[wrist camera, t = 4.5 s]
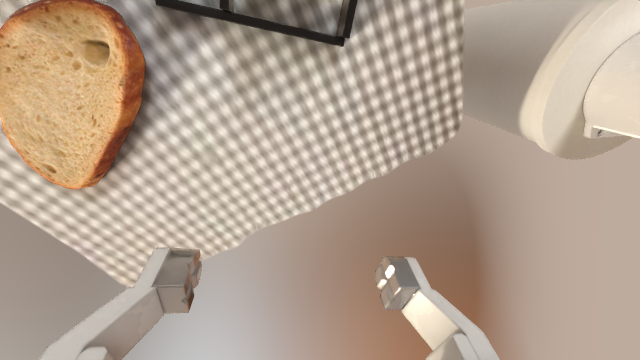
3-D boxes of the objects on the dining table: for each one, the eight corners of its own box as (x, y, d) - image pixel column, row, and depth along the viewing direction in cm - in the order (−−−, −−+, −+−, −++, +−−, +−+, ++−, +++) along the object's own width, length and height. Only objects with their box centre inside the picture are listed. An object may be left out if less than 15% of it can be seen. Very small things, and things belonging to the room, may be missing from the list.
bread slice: (69, 191, 31) (46, 208, 28) (-83, 33, 22) (-145, 32, 18) (203, 155, 32) (195, 168, 28) (113, -14, 22) (86, -24, 19)
